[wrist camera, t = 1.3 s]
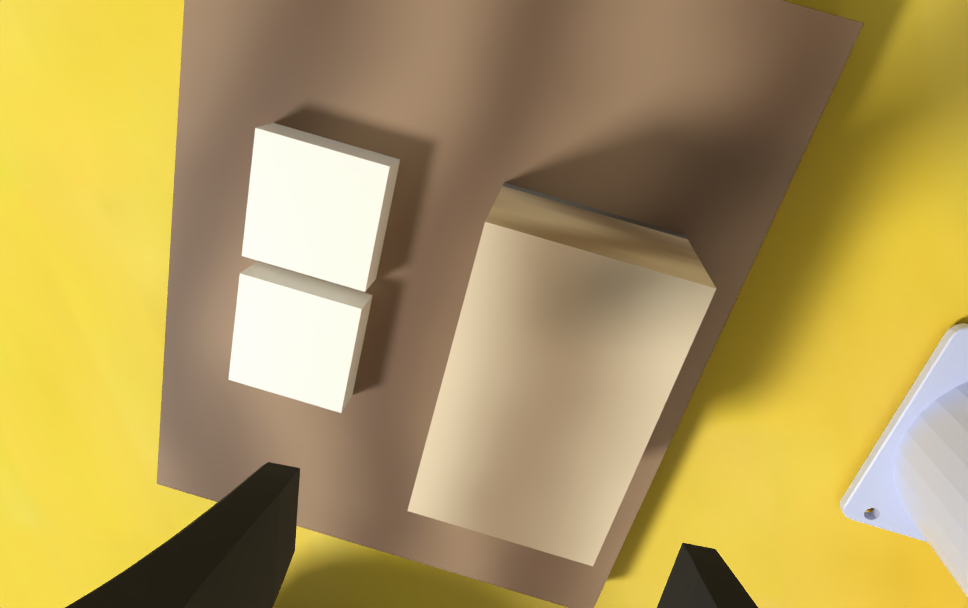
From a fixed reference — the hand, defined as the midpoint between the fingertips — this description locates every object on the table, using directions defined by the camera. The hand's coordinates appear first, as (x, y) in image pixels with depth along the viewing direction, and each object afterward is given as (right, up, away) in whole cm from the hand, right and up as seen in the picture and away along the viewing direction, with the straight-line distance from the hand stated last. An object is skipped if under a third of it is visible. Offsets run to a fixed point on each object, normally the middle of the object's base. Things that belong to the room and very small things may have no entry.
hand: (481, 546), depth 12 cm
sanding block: (+2, +3, +9) cm, 10 cm away
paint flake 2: (-6, +4, +10) cm, 12 cm away
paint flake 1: (-5, +8, +8) cm, 12 cm away
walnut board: (-1, +5, +10) cm, 12 cm away
